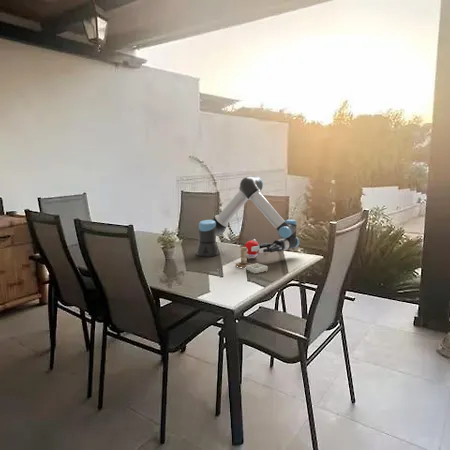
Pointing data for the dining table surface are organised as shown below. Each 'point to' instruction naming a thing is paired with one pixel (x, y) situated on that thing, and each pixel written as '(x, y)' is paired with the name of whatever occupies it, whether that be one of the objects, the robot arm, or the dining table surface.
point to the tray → (251, 267)
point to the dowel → (243, 255)
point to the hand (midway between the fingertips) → (255, 250)
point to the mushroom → (249, 245)
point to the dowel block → (242, 265)
